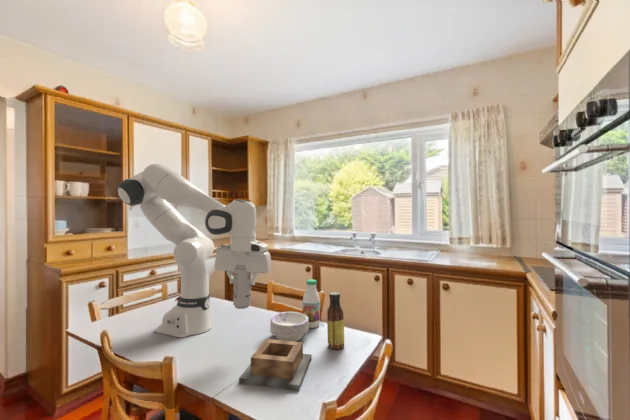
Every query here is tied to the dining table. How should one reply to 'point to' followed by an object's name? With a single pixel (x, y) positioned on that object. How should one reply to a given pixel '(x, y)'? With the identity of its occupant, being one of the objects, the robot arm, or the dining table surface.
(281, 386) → the socket holder
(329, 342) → the sauce bottle
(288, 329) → the paper bowls
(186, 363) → the dining table surface
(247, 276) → the energy drink can
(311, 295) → the milk bottle
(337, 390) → the dining table surface
